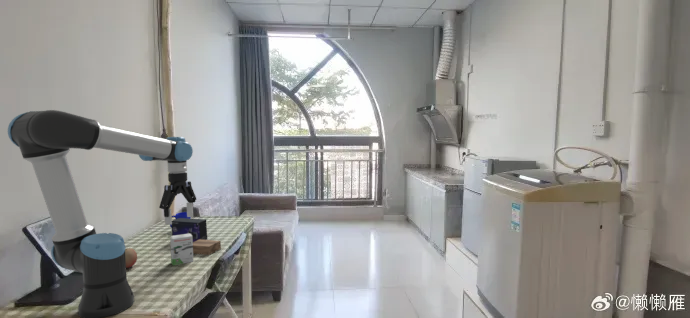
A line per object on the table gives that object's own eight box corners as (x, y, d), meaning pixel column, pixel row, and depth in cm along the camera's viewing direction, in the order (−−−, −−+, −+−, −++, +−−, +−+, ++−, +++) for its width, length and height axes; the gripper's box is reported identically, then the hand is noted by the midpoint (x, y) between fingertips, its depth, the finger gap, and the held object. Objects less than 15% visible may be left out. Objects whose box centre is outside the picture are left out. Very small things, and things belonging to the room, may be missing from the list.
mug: (169, 230, 210) (168, 213, 209) (191, 227, 215) (190, 211, 214) (168, 233, 203) (168, 216, 202) (191, 230, 208) (191, 214, 207)
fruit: (118, 265, 153) (117, 247, 153) (139, 263, 156) (138, 245, 156) (113, 272, 146) (112, 253, 145) (135, 269, 149) (134, 250, 148)
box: (171, 243, 185) (170, 220, 184) (180, 239, 191) (179, 217, 191) (200, 245, 181) (198, 221, 180) (208, 241, 187) (207, 218, 186)
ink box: (172, 265, 152) (171, 238, 151) (171, 262, 156) (169, 236, 155) (194, 261, 157) (192, 235, 156) (191, 258, 161) (190, 232, 160)
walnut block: (209, 254, 165) (208, 246, 165) (187, 253, 168) (187, 244, 168) (220, 248, 174) (220, 240, 174) (199, 247, 177) (199, 239, 177)
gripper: (163, 175, 141) (166, 228, 143) (203, 169, 165) (205, 214, 167) (147, 175, 143) (150, 227, 144) (189, 169, 167) (191, 213, 169)
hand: (179, 220), depth 156 cm, fingers open, 13 cm apart
